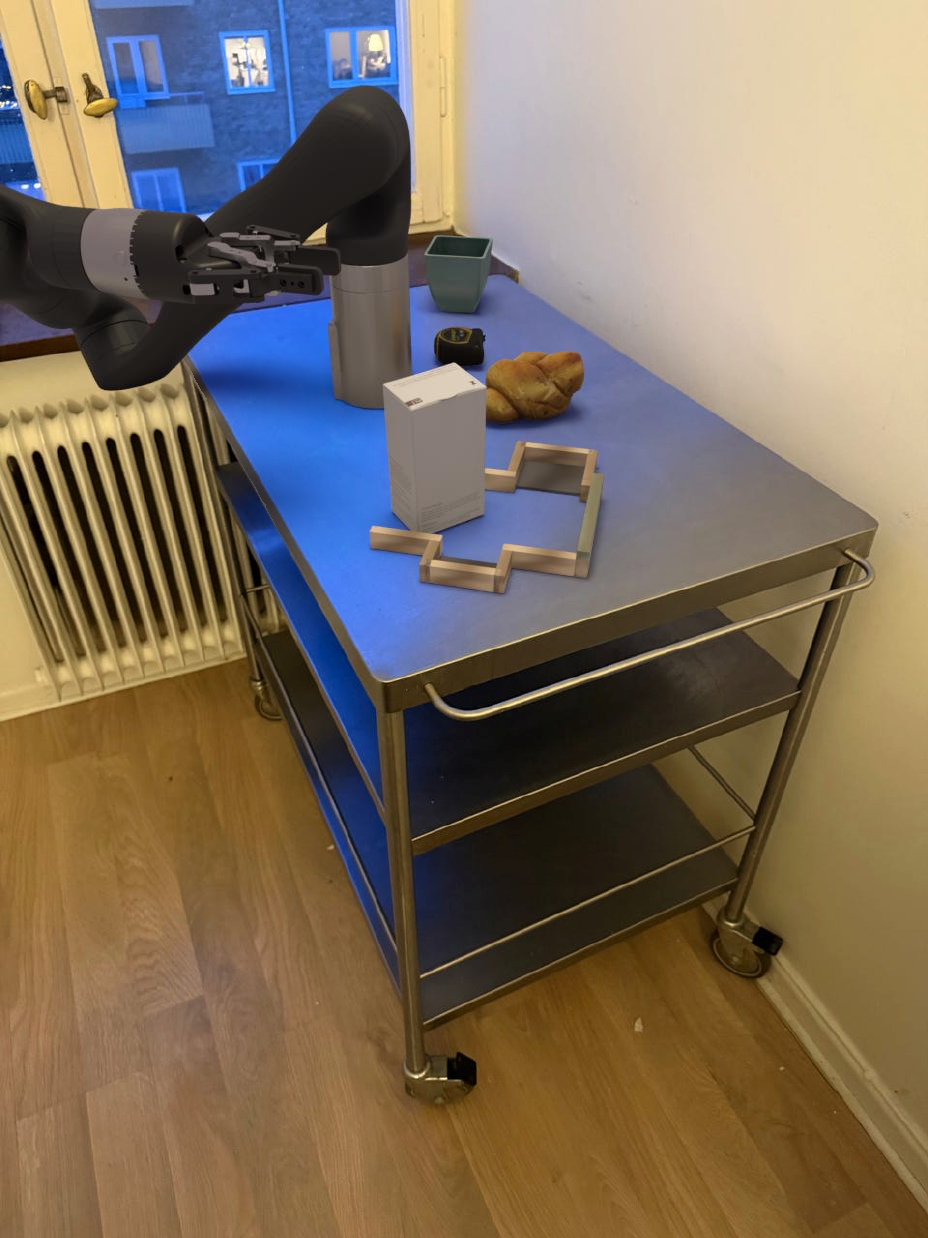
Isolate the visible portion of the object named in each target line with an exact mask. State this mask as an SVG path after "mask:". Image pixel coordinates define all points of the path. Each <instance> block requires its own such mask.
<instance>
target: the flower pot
mask: <svg viewBox="0 0 928 1238" xmlns="http://www.w3.org/2000/svg"><path fill="white" fill-rule="evenodd" d="M493 239H494V238H492V237H484V236H483V237H479V236H477V237H476V236H475V237H474V236H458V235H457V236H454V235H439V234H438V235H435V236H433V238H432V240H431V241H430V244H429V246H428V247H427V249H426V250H425V252H424V255H423V258H424V263H425V264H424V265H425V270H426V277H427V283H428V288H429V291H430V294H431V297H432V299H433V302H434V303H435V304H436V306H437V307H438V309H439V310H440V311H441V312H449V313H467V314H472V313H474V312H475V311H476V309H477V307H478V305H479V303H480V300H481V298H482V296H483V293H484V291H485V288H486V285H487V282H488V278H489V274H490V267H491V260H492V252H493V251H492V250H493V241H494V240H493Z"/></svg>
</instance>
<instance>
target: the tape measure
mask: <svg viewBox="0 0 928 1238" xmlns="http://www.w3.org/2000/svg"><path fill="white" fill-rule="evenodd" d="M433 340H434V341H433V352H434V353H433V354H434V355H435V358H436V359H437V361H438V362H439V363H440V364H443V365H444V366H445V365H448V364H451V363H456V364H457V365H459V366H460V367H461V368H466V367H475V366H481V365H483V363H484V360H485V347H484V342H486V334H484V331H483V330H482V328H479V327H476V328H468V327H464V326H451V327H445V328H443V329H441V330H440V331H438V332H437V334H436V335H435V337H434V339H433Z"/></svg>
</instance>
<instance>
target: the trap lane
mask: <svg viewBox="0 0 928 1238" xmlns="http://www.w3.org/2000/svg"><path fill="white" fill-rule="evenodd" d="M598 452H599V450H598V449H591V448H590V449H589V448H582V447H574V446H563V445H555V444H547V443H540V442H539V443H538V442H529V441H522V440H518V441H517V442H516V444H515V448H514V451H513V453H512V456H511V458H510V462H509V464H508V468H507V470H505V469H497V468H496V469H495V468H488V467H487V468H486V467H485V490H486V491H487V490H488V491H495V492H496V491H497V492H503V493H504V492H506V493H512V494H514V493H515V492H516V489H519V490H520V489H521V490H528V491H529V490H531V491H537V492H546V493H554V494H563V495H570V496H579V502H582V503H583V502H584V503H586V505H585V509H584V515H583V518H582V519H583V520H582V524H581V530H580V534H579V539H578V543H577V544H578V545H577V548H576V552H570V551H563V550H556V549H547V548H542V547H541V548H540V547H534V546H525V545H519V544H518V545H517V544H510V543H503V545H502V548H501V552H500V555H499V557H498V560H497V562H490V561H482V560H477V559H476V560H475V559H470V558H460V557H456V556H455V557H454V556H446V555H442V554H443V552H444V551H443V544H444V543H443V534H436V533H433V534H430V533H422V532H415V531H410V530H408V529H407V530H405V529H399V528H391V527H384V526H377V525H372V526H371V529H370V530H369V541H370V542H369V543H370V549H373V550H381V551H386V552H387V551H388V552H395V553H403V554H408V555H417V556H422V558H421V559H420V561H419V568H418V569H419V582H420V583H427V584H432V585H433V584H435V585H442V586H449V587H455V588H456V587H457V588H460V589H470V590H477V591H482V592H489V593H495V594H496V593H497V594H505V592H506V588H507V583H508V582H509V577H510V574H511V570H512V569H517V570H518V569H519V570H523V571H524V570H525V571H530V572H531V571H533V572H538V573H546V574H554V575H561V576H569V577H576V578H582V579H583V578H584V579H587V577H588V574H589V568H590V563H591V555H592V552H593V545H594V541H595V540H594V539H595V535H596V530H597V524H598V518H599V513H600V507H601V502H602V496H603V488H604V481H605V473H598V472H596V470H597V464H598V463H597V462H598V455H599V453H598Z"/></svg>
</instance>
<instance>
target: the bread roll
mask: <svg viewBox="0 0 928 1238" xmlns="http://www.w3.org/2000/svg"><path fill="white" fill-rule="evenodd" d="M584 380H585V369H584V362H583V358H582V356H581V354H580V353H579V352H576V351H570V350H566V351H558V352H553V353H550V354H548V353H546V352H543V351H527V350H525V351H523V352H521V353H520V354H519V355H518V356H517V357H515V358H514V359H509V358H503V359H500V360H498V361H496V362H495V363H494V364H493V363H492V365H491V366H490V367H489V368H488V370H487V372H486V374H485V386H486V387H487V391H486V421H488V422H491V423H495V424H504V425H506V424H511V423H516V422H519V421H520V420H527V421H546V420H550V419H552V418H555V417H558V416H559V415H562V414H563V413H565V411H566V410H567V409H568V408H569V405H570V404H571V402H572V398H573V397H574V395H575V393H577V392H578V391H580V390H581V388H582V386H583V383H584Z"/></svg>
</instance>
